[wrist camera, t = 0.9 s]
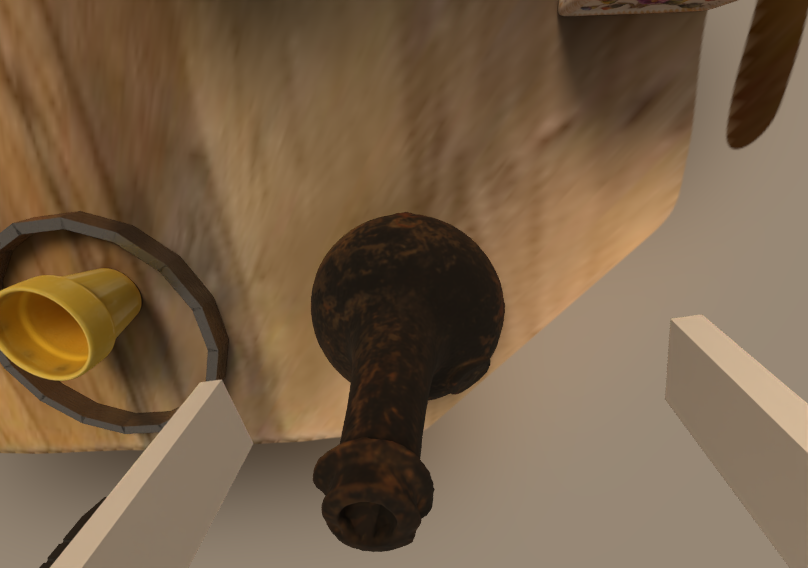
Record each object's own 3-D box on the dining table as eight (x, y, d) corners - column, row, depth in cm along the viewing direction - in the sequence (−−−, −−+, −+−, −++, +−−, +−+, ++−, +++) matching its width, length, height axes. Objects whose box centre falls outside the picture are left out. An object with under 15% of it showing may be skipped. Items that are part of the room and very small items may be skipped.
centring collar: (-54, 285, 49) (-78, 294, 46) (103, 163, 41) (83, 166, 39) (119, 445, 58) (105, 459, 55) (273, 370, 50) (266, 383, 48)
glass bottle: (424, 378, 49) (408, 680, 23) (298, 292, 45) (119, 536, 20) (531, 271, 42) (672, 530, 17) (394, 162, 39) (308, 277, 13)
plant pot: (58, 247, 45) (-35, 283, 36) (147, 255, 45) (75, 293, 36) (83, 327, 50) (5, 376, 41) (165, 335, 49) (104, 386, 40)
